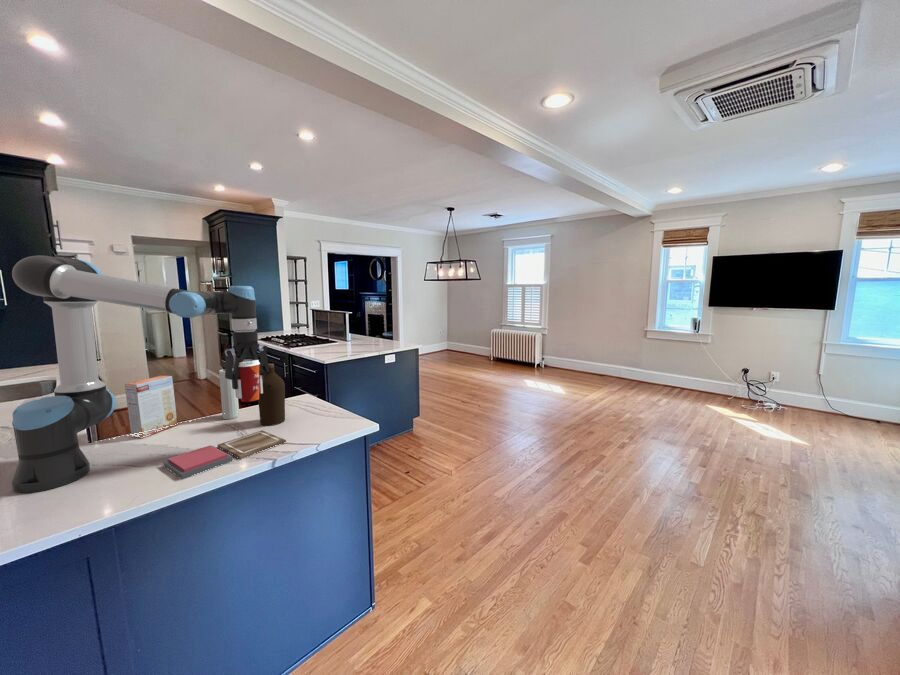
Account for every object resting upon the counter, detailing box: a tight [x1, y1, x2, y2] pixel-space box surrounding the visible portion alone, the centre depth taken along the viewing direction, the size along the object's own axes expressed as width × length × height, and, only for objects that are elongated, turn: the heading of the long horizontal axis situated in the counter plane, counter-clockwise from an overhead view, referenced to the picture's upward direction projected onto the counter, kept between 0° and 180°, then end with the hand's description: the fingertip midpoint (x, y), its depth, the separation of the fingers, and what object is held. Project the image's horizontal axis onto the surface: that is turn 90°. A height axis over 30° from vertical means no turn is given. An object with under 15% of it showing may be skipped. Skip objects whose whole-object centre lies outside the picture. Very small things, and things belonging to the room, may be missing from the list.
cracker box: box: [124, 375, 178, 437], centre depth 139 cm, size 14×6×21 cm, turn 168°
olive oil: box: [257, 362, 286, 427], centre depth 149 cm, size 11×11×25 cm
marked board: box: [217, 429, 287, 460], centre depth 128 cm, size 16×16×1 cm
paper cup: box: [238, 358, 261, 403], centre depth 125 cm, size 8×8×14 cm
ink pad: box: [162, 445, 234, 480], centre depth 114 cm, size 14×14×2 cm
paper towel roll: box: [218, 368, 240, 420], centre depth 155 cm, size 7×6×21 cm
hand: (249, 395), depth 126 cm, fingers closed on paper cup, 7 cm apart
